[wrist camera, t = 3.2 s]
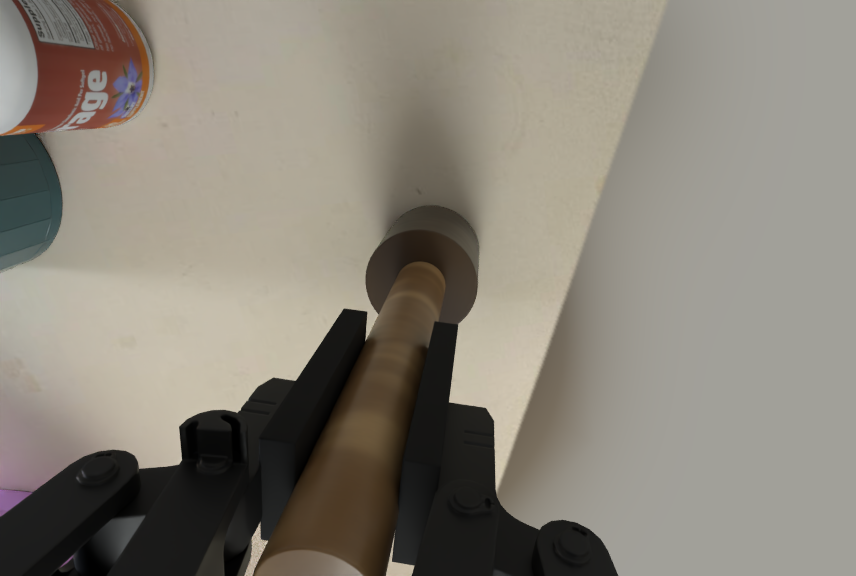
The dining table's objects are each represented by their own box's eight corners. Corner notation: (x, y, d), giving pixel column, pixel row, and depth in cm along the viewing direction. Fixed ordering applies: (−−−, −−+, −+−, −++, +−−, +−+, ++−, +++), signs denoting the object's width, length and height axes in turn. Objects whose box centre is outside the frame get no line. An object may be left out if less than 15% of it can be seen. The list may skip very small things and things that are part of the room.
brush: (457, 190, 26) (382, 438, 7) (493, 276, 27) (509, 669, 9) (370, 227, 27) (113, 522, 8) (409, 308, 28) (264, 713, 10)
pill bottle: (99, 149, 27) (-139, 183, 17) (17, 39, 25) (-303, 2, 15) (184, 84, 25) (-23, 77, 15) (101, -37, 24) (-193, -137, 13)
